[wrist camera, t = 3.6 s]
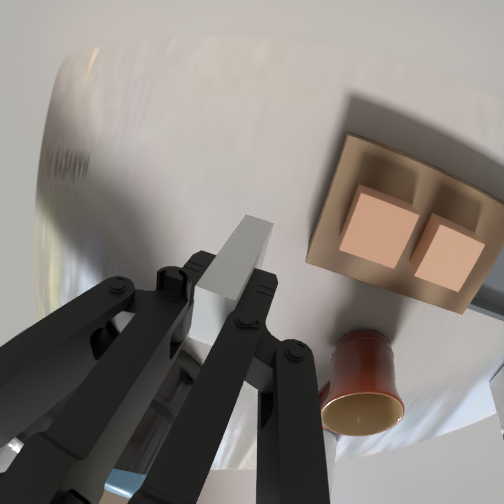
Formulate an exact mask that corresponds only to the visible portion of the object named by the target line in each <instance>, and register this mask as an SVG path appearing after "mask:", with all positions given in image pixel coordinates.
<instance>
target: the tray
mask: <svg viewBox="0 0 504 504" xmlns="http://www.w3.org/2000/svg"><path fill="white" fill-rule="evenodd" d="M467 308H468V309H471V310H474V311H477V312H479V313H482V314H485V315H488V316H491V317H493V318H496V319H499V320H502V321H504V246H503V248H502V250H501V252H500V254H499V256H498V258H497V259H496V261H495V263H494V265H493V267H492V268H491V270H490V272H489V273H488V275H487V277H486V279H485V280H484V282H483V284H482V285H481V287H480V288H479V290H478V292H477V293H476V295H475V296H474V298H473V299H472V301H471V303H470V304H469V306H468V307H467Z"/></svg>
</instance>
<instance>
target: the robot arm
mask: <svg viewBox="0 0 504 504" xmlns="http://www.w3.org/2000/svg"><path fill="white" fill-rule="evenodd" d="M273 224H274V223H271V222H268V221H265V220H261V219H258V218H255V217H252V216H249V215H245V217H244V218H243V219H242V221H241V222H240V224H239V225H238V226H237V228H236V229H235V231H234V232H233V233H232V235H231V236H230V238H229V239H228V240H227V242H226V243H225V245H224V246H223V247H222V249H221V250H220V252H219V253H218V254H217V256H216V255H214V254H211V253H208V252H205V251H199V252H197V253H195V254H193V255H192V256H191V258H190V259H189V260H188V262H186V264H185V265H184V267H182V268H180V267H175V266H167V267H164V268H161V269H160V270H158V271H157V285H156V290H155V291H144V290H137V289H135V287H134V284H133V282H132V281H131V280H130V279H128V278H125V277H121V276H115V277H110V278H108V279H106V280H104V281H102V282H101V283H99V284H98V285H96V286H94V287H93V288H91V289H89V290H88V291H86V292H84V293H83V294H81V295H80V296H78V297H76V298H75V299H73V300H72V301H70V302H68V303H67V304H65V305H64V306H62V307H60V308H59V309H57V310H56V311H54V312H53V313H51V314H49V315H48V316H46V317H45V318H43V319H42V320H40V321H39V322H37V323H36V324H34V325H33V326H31V327H29V328H27V329H25V330H24V331H22V332H21V333H19V334H18V335H16V336H15V337H14V338H12V339H11V340H10V341H8V342H7V343H6V344H4V345H3V346H1V347H0V504H98V503H99V501H100V499H101V498H102V495H103V492H104V489H106V490H108V491H110V492H113V493H115V494H118V495H121V496H124V497H128V498H130V500H129V502H128V504H196V502H197V500H198V497H199V495H200V493H201V490H202V488H203V485H204V483H205V480H206V478H207V475H208V473H209V470H210V468H211V466H212V463H213V461H214V458H215V456H216V453H217V450H218V448H219V445H220V443H221V440H222V438H223V435H224V433H225V430H226V427H227V425H228V422H229V420H230V417H231V414H232V412H233V409H234V406H235V404H236V401H237V398H238V396H239V393H240V390H241V388H242V385H243V382H244V380H245V381H246V382H247V383H249V384H250V385H252V386H253V387H255V388H256V389H258V423H257V480H256V504H330V494H329V483H328V472H327V462H326V453H325V443H324V434H323V426H322V417H321V409H320V401H319V393H318V385H317V378H316V371H315V363H314V356H313V353H312V351H311V349H310V348H309V347H308V346H307V345H306V344H304V343H303V342H301V341H298V340H295V339H287V340H284V341H280V340H278V339H277V338H275V337H274V336H273V335H271V333H270V332H269V331H268V329H267V327H266V323H265V322H266V317H267V315H268V312H269V309H270V306H271V303H272V300H273V297H274V294H275V291H276V288H277V285H278V280H277V277H276V275H275V274H272V273H269V272H266V271H263V270H260V268H261V265H262V262H263V259H264V255H265V252H266V248H267V245H268V241H269V238H270V234H271V231H272V227H273ZM189 329H190V330H189ZM188 331H189V337H190V338H192V339H195V340H198V341H200V342H203V343H205V344H208V345H211V346H212V348H211V350H210V352H209V354H208V356H207V358H206V360H205V362H204V364H203V366H202V368H201V367H200V366H199V364H198V363H197V362H196V361H195V360H194V359H193V358H191V357H190V356H189V355H188V354H186V353H185V352H184V351H182V350H181V349H182V348H183V345H184V341H185V336H186V334H187V333H188Z"/></svg>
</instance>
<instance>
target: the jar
mask: <svg viewBox="0 0 504 504" xmlns="http://www.w3.org/2000/svg"><path fill="white" fill-rule="evenodd" d="M489 387H490V390H491V394H492V397H493V401H494V405H495V408H496V412H497V416H498V420H499V424H500V429H501V432H502V433H503V438H504V366H503V367H502V368H501V369H500V371H499V372H498V373H497V374H496V375H495V376H494V377H493V379H492V380H491V381H490V382H489Z"/></svg>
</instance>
